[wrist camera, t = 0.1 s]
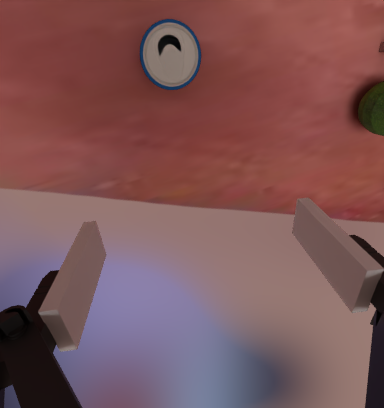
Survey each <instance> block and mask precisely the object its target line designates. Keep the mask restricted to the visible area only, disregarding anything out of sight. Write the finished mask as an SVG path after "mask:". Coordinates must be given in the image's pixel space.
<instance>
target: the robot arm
mask: <svg viewBox="0 0 384 408" xmlns="http://www.w3.org/2000/svg"><path fill="white" fill-rule="evenodd" d="M292 233H293V235H294V236H295V237H296V239H297V240H298V241H299V243H300V244H301V245H302V247H303V248H304V249H305V251H306V252H307V253H308V255H309V256H310V257H311V259H312V260H313V261H314V263H315V264H316V265H317V267H318V268H319V269H320V271H321V272H322V274H323V275H324V276H325V278H326V279H327V280H328V282H329V283H330V284H331V286H332V287H333V288H334V289H335V291H336V292H337V293H338V295H339V296H340V298H341V299H342V300H343V302H344V303H345V304H346V306H347V307H348V308H349V310H350V311H351V312H352V313H355V312H363V311H367V310H368V308H369V305H370V303H372V304H373V305H374V307H375V308H376V311H375V314H374V316H373V318H372V320H371V323H370V324H371V325H373V333H372V344H371V354H370V363H369V373H368V383H367V384H368V385H367V394H366V404H365V408H384V257H383V256H382V255H381V254H379V253H377V251H376V250H375V249H374V248H372V247H371V245H369V244H368V243H367V242H366V241H365V240H364V239H362V238H360V237H358V236H356V235H348V234H347V233H346V232H345V231H343V230H342V229H341V228H340V227H339V226H338V225H337V224H336V223H335V222H334V221H333V220H332V219H331V218H330V217H329V216H328V215H326V214H325V213H324V212H323V211H322V210H321V209H320V208H319V207H318V206H317V205H316V204H315V203H314V202H313V201H312V200H311V199H309V198H301V199H297V204H296V211H295V217H294V225H293V231H292ZM105 257H106V252H105V249H104V245H103V242H102V239H101V236H100V233H99V230H98V226H97V223H96V221H93V222H84V223H83V225H82V227H81V229H80V231H79V233H78V235H77V237H76V239H75V241H74V243H73V245H72V247H71V249H70V251H69V252H68V254H67V256H66V259H65V261H64V262H63V264H62V266H61V268H60V270H56V271H50V272H49V273H48V274H47V275H46V276H45V277H44V278H43V279H42V281H41V282H40V284H39V286H38V289H36V291H35V293H34V295H33V296H32V298H31V300H30V302H29V304H28V305H27V307H26V308H25V307H24V306H20V305H17V306H12V307H9V308H7V309H5V310H3V311H2V312H0V408H4V394H5V392H4V391H5V388H6V387H8V386H10V385H12V384H13V387H14V390H15V392H16V395H17V398H18V401H19V404H20V406H21V408H82V406H81V404H80V402H79V401H78V399H77V397H76V395H75V393H74V392H73V389H72V388H71V386H70V384H69V382H68V380H67V378H66V377H65V375H64V373H63V371H62V369H61V367H60V365H59V364H58V362H57V360H56V358H55V356H54V354H53V351H54V348H55V346H56V345H57V346H58V348H59V350H60V351H68V350H75V349H78V345H79V342H80V339H81V335H82V332H83V329H84V326H85V322H86V319H87V316H88V313H89V309H90V306H91V303H92V300H93V296H94V293H95V290H96V286H97V283H98V280H99V277H100V274H101V270H102V267H103V264H104V261H105Z"/></svg>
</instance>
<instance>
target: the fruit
mask: <svg viewBox="0 0 384 408" xmlns="http://www.w3.org/2000/svg"><path fill="white" fill-rule="evenodd" d="M358 117H359V120H360V122H361V124H362V125H363V126H364V127H365V128H366V129H367V130H369V131H370V132H372V133H374V134H378V135H382V136H384V81H383V82H380V83H378V84H377V85H375V86H374V87H372V88H371V89H370V90H369V91H368V92H367V93H366V94H365V95H364V96H363V98H362V100H361V102H360V104H359V107H358Z"/></svg>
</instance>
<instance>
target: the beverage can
mask: <svg viewBox="0 0 384 408" xmlns="http://www.w3.org/2000/svg"><path fill="white" fill-rule="evenodd" d="M140 61H141V65H142V68H143V70H144V72H145V74H146V75H147V77H148V78H149V79H150V80H151V81H152V82H153V83H154V84H155V85H157V86H158V87H161V88H163V89H167V90H176V89H180V88H183V87H185V86H186V85H188V84H189V83H190V82H191V81H192V80H193V79H194V77H195V76H196V74H197V72H198V70H199V67H200V62H201V50H200V45H199V42H198V40H197V37H196V36H195V34H194V32H193V31H192V30H191V29H190V28H189V27H188V26H187V25H185V24H184V23H182V22H180V21H177V20H173V19H165V20H161V21H158V22H156V23H155V24H153V25H152V26H151V27H150V28H149V29H148V30H147V31H146V33H145V34H144V36H143V39H142V41H141V45H140Z"/></svg>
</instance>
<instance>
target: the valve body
mask: <svg viewBox="0 0 384 408" xmlns="http://www.w3.org/2000/svg"><path fill="white" fill-rule="evenodd" d="M379 52H384V42H381V45H380V49H379Z"/></svg>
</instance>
